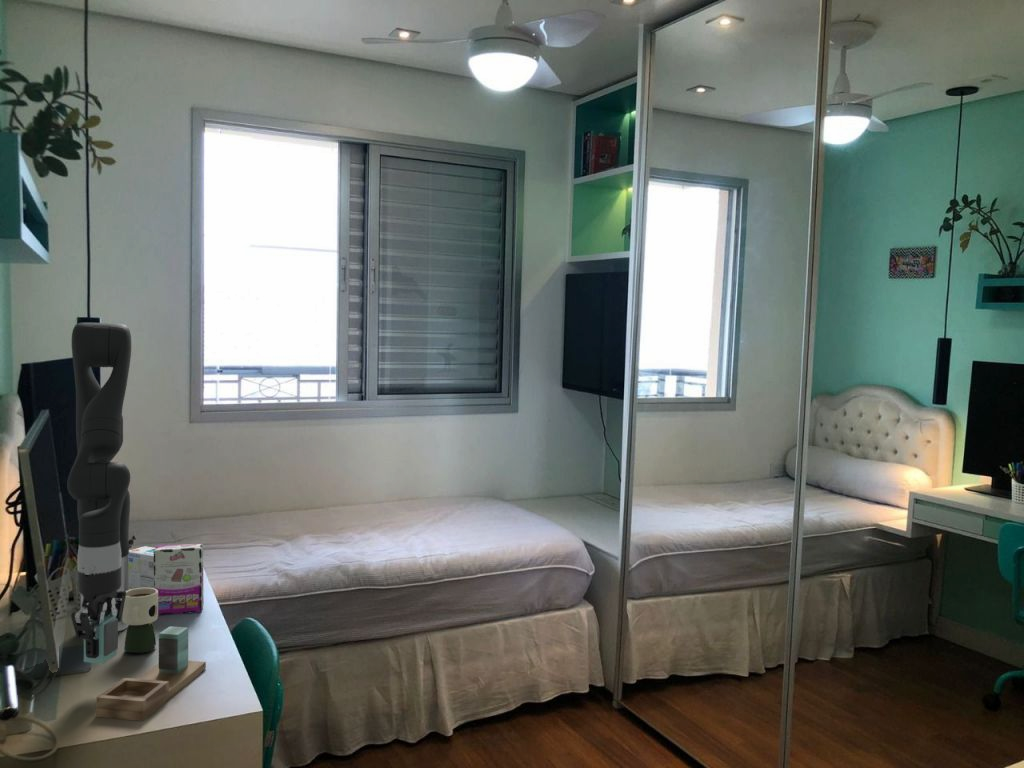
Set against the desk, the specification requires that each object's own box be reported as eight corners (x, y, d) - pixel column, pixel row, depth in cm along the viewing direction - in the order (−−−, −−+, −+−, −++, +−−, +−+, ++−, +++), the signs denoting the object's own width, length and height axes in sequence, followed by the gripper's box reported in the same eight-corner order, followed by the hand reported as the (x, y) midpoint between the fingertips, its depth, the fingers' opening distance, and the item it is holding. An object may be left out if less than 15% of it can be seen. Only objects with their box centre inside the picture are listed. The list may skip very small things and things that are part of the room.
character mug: (152, 659, 172) (152, 599, 172) (116, 661, 171) (116, 601, 170) (162, 640, 183) (162, 583, 182) (128, 642, 181) (128, 585, 181)
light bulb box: (175, 589, 219) (175, 549, 218) (155, 596, 213) (155, 555, 212) (145, 583, 223) (145, 545, 223) (125, 590, 217) (125, 550, 216)
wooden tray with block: (95, 716, 147) (95, 665, 146) (164, 665, 169) (165, 621, 169) (142, 720, 145) (142, 669, 145) (205, 669, 168) (205, 624, 168)
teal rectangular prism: (83, 661, 155) (83, 621, 154) (97, 653, 159) (96, 613, 158) (105, 664, 154) (105, 623, 154) (118, 655, 158) (118, 615, 158)
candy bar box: (203, 606, 206) (204, 542, 205) (201, 612, 201) (202, 547, 200) (156, 609, 203) (156, 544, 202) (153, 615, 198) (153, 549, 197)
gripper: (104, 553, 163) (104, 636, 164) (56, 575, 149) (57, 666, 150) (139, 556, 162) (139, 639, 163) (94, 578, 148) (94, 669, 149)
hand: (99, 651), depth 157 cm, fingers closed on teal rectangular prism, 4 cm apart
